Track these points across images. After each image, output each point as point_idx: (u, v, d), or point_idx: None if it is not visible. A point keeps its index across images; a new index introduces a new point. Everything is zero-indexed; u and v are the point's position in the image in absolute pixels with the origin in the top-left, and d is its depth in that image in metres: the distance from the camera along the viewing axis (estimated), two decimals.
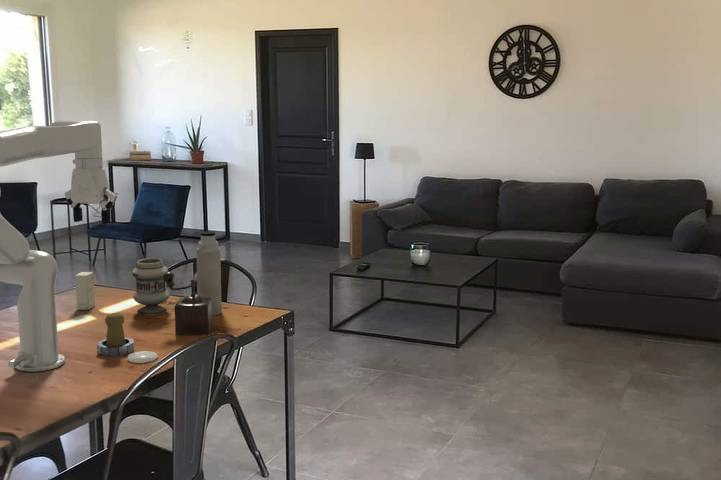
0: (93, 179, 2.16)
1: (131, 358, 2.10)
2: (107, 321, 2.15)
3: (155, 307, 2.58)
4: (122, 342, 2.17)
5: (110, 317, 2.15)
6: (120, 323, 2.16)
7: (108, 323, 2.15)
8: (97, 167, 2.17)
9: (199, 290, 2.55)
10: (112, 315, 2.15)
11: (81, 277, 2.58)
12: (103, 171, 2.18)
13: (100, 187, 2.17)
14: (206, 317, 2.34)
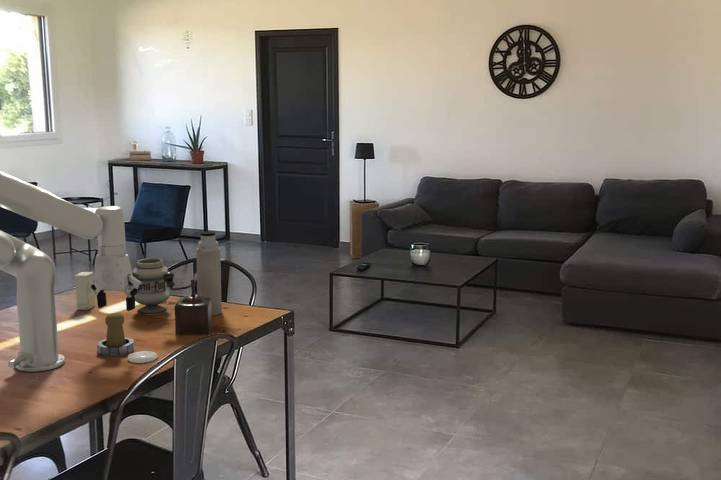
0: (117, 267, 2.11)
1: (131, 358, 2.10)
2: (107, 321, 2.15)
3: (155, 307, 2.58)
4: (122, 342, 2.17)
5: (110, 317, 2.15)
6: (120, 323, 2.16)
7: (108, 323, 2.15)
8: (120, 254, 2.11)
9: (199, 290, 2.55)
10: (112, 315, 2.15)
11: (81, 277, 2.58)
12: (127, 257, 2.13)
13: (124, 274, 2.11)
14: (206, 317, 2.34)
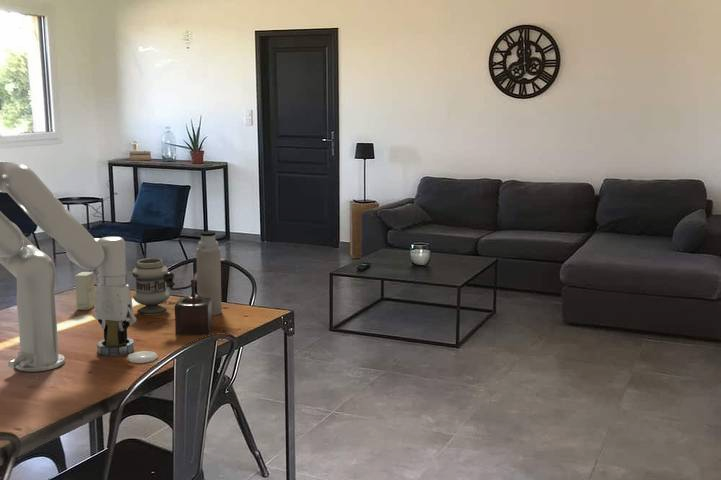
0: (117, 297, 2.12)
1: (131, 358, 2.10)
2: (107, 321, 2.15)
3: (155, 307, 2.58)
4: None
5: None
6: None
7: (108, 323, 2.15)
8: (121, 284, 2.13)
9: (199, 290, 2.55)
10: None
11: (81, 277, 2.58)
12: (127, 288, 2.14)
13: (124, 305, 2.13)
14: (206, 317, 2.34)
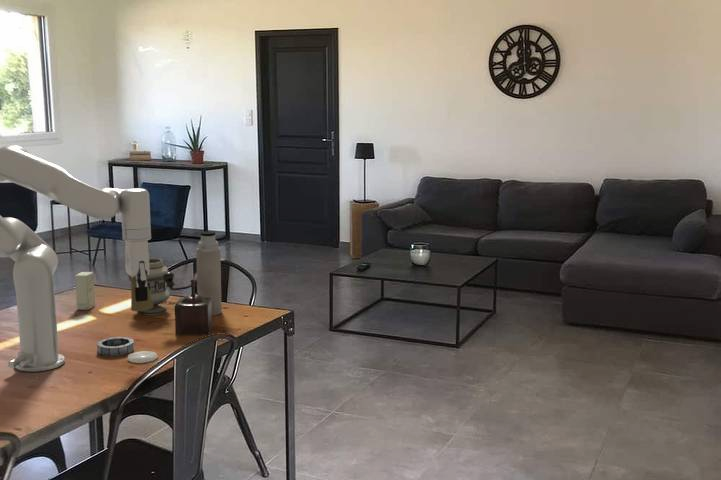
0: (129, 251, 2.03)
1: (131, 358, 2.10)
2: None
3: (155, 307, 2.58)
4: None
5: None
6: None
7: (129, 278, 2.07)
8: (135, 239, 2.03)
9: (199, 290, 2.55)
10: None
11: (81, 277, 2.58)
12: (142, 243, 2.03)
13: (134, 260, 2.02)
14: (206, 317, 2.34)
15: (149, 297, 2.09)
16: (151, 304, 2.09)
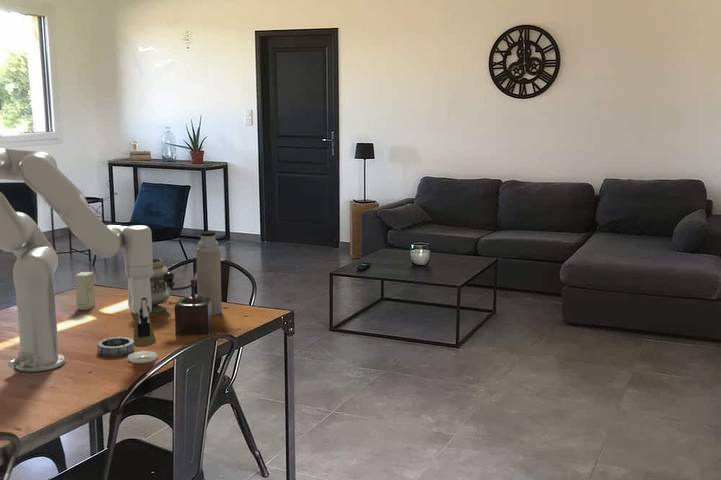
0: (132, 288, 2.04)
1: (131, 358, 2.10)
2: (131, 312, 2.09)
3: (155, 307, 2.58)
4: None
5: None
6: None
7: (131, 314, 2.09)
8: (137, 276, 2.04)
9: (199, 290, 2.55)
10: None
11: (81, 277, 2.58)
12: (144, 280, 2.04)
13: (136, 297, 2.04)
14: (206, 317, 2.34)
15: (151, 333, 2.11)
16: (153, 340, 2.11)
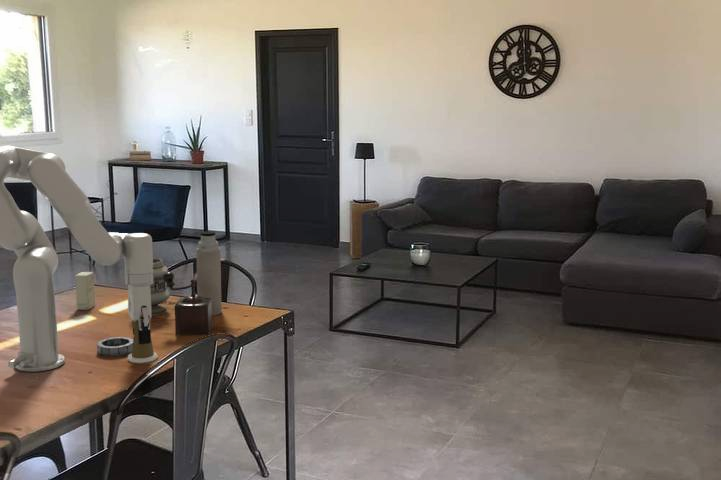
0: (132, 296, 2.05)
1: (131, 358, 2.10)
2: (132, 323, 2.10)
3: (155, 307, 2.58)
4: (143, 348, 2.10)
5: None
6: None
7: (132, 325, 2.10)
8: (138, 284, 2.05)
9: (199, 290, 2.55)
10: None
11: (81, 277, 2.58)
12: (144, 288, 2.05)
13: (136, 305, 2.04)
14: (206, 317, 2.34)
15: (150, 345, 2.12)
16: (152, 352, 2.12)
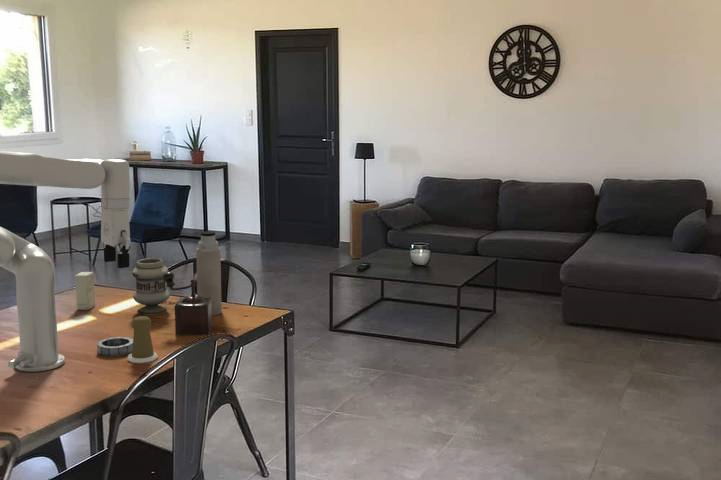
0: (111, 221, 2.06)
1: (131, 358, 2.10)
2: (132, 323, 2.10)
3: (155, 307, 2.58)
4: (143, 347, 2.10)
5: (134, 319, 2.10)
6: (141, 327, 2.09)
7: (132, 325, 2.10)
8: (117, 208, 2.06)
9: (199, 290, 2.55)
10: (137, 318, 2.10)
11: (81, 277, 2.58)
12: (123, 213, 2.07)
13: (116, 229, 2.06)
14: (206, 317, 2.34)
15: (150, 345, 2.12)
16: (152, 352, 2.12)
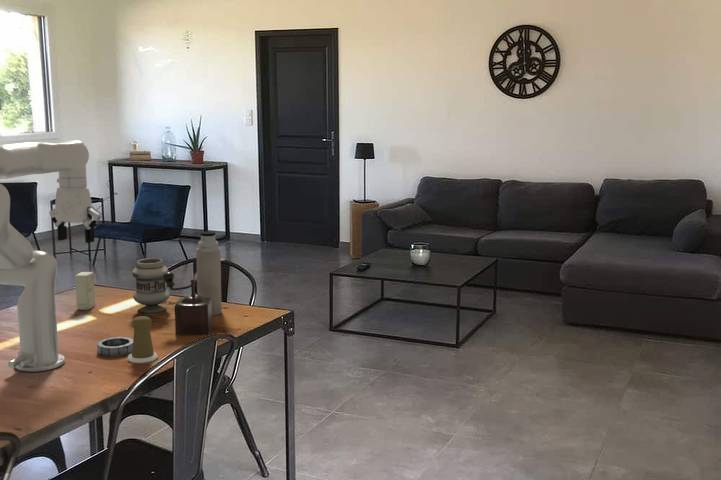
0: (77, 199, 2.17)
1: (131, 358, 2.10)
2: (132, 323, 2.10)
3: (155, 307, 2.58)
4: (143, 347, 2.10)
5: (134, 319, 2.10)
6: (141, 327, 2.09)
7: (132, 325, 2.10)
8: (81, 186, 2.18)
9: (199, 290, 2.55)
10: (137, 318, 2.10)
11: (81, 277, 2.58)
12: (87, 190, 2.19)
13: (83, 206, 2.17)
14: (206, 317, 2.34)
15: (150, 345, 2.12)
16: (152, 352, 2.12)
